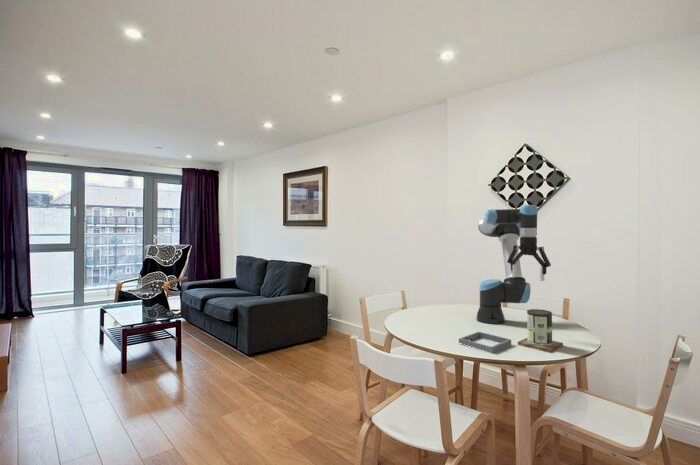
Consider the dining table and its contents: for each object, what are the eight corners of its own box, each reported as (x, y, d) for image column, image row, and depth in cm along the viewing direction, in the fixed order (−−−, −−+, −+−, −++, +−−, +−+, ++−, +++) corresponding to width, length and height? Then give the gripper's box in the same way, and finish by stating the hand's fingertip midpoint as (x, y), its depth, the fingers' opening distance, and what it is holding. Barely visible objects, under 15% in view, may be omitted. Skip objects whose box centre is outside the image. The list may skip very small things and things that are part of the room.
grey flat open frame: (458, 343, 169) (458, 338, 169) (478, 336, 180) (478, 331, 180) (492, 353, 156) (492, 347, 156) (511, 344, 167) (511, 339, 167)
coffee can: (543, 338, 172) (543, 308, 172) (557, 345, 162) (557, 313, 161) (522, 339, 171) (522, 309, 171) (535, 346, 161) (535, 314, 161)
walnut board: (517, 344, 167) (517, 341, 167) (531, 338, 176) (531, 335, 176) (549, 352, 156) (549, 349, 156) (562, 345, 165) (562, 342, 165)
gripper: (500, 235, 186) (500, 276, 187) (552, 237, 167) (551, 283, 168) (507, 234, 191) (507, 274, 192) (558, 236, 172) (558, 281, 173)
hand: (528, 279), depth 180 cm, fingers open, 13 cm apart
